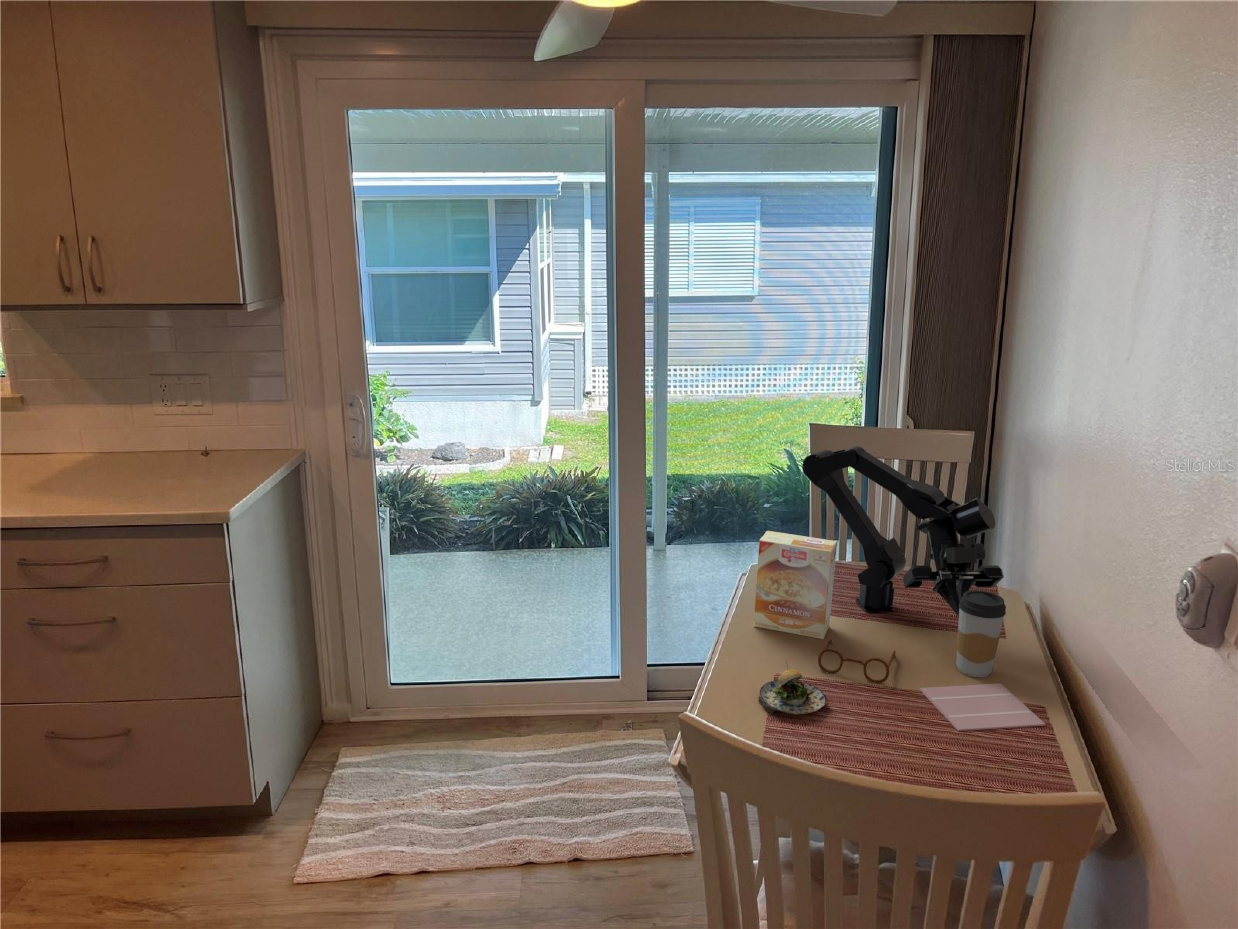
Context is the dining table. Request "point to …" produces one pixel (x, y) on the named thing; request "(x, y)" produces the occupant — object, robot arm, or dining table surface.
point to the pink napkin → (981, 707)
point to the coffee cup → (979, 631)
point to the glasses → (855, 662)
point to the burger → (791, 695)
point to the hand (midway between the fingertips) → (961, 616)
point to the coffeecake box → (794, 584)
